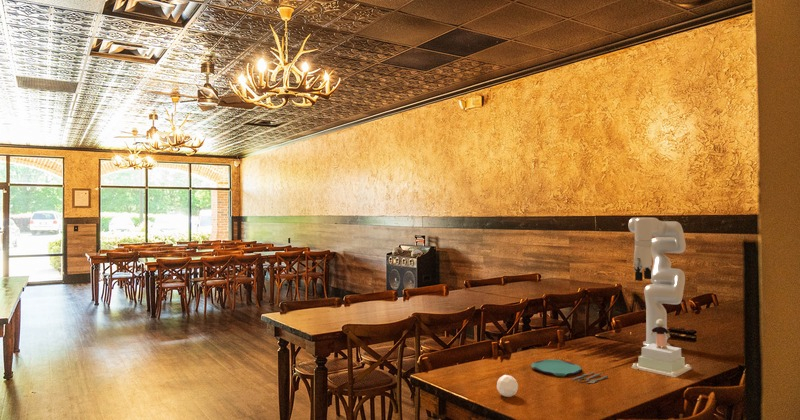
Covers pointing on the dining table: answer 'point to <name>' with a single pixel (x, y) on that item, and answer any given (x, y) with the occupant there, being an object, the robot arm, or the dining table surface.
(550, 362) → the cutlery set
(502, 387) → the geometric ball
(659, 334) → the grandmother figurine
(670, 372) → the white stepped pedestal
